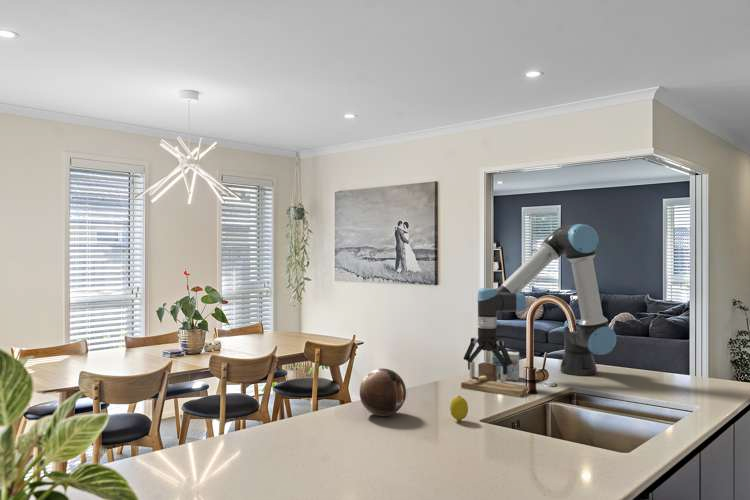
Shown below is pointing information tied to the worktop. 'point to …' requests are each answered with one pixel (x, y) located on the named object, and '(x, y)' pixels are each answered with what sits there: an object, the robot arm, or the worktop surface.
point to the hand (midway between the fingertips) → (487, 380)
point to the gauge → (486, 373)
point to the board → (496, 387)
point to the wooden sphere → (382, 392)
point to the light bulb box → (511, 369)
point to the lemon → (459, 408)
